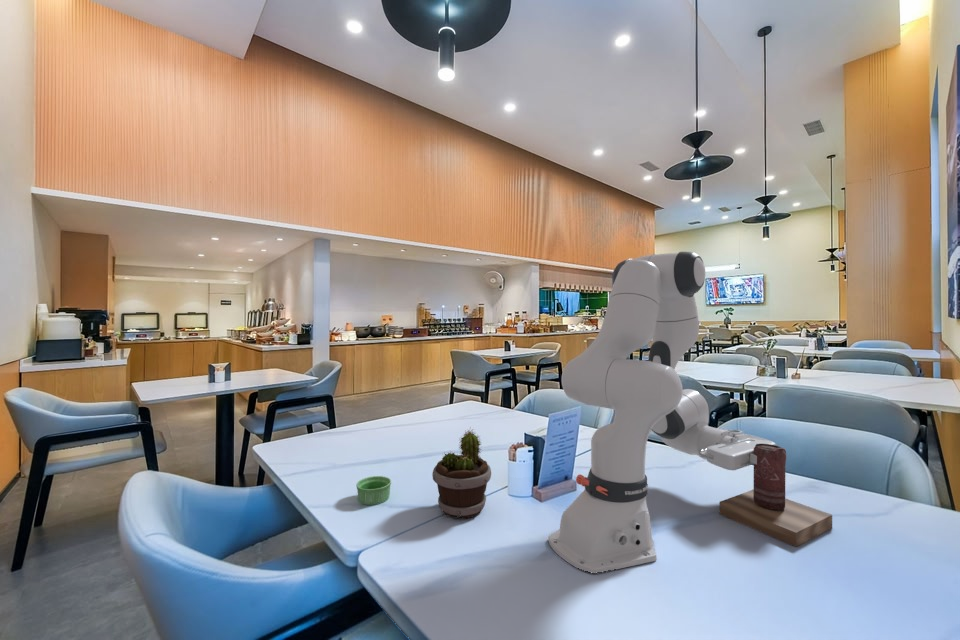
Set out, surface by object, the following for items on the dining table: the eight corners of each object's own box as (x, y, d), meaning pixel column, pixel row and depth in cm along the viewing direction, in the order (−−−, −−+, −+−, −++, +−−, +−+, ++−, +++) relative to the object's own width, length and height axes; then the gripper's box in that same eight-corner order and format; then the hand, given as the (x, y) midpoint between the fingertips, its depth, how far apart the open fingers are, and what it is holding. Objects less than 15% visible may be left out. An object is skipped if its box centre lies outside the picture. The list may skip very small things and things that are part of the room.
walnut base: (796, 547, 83) (796, 532, 83) (719, 514, 97) (719, 501, 97) (832, 527, 91) (832, 514, 91) (756, 499, 105) (756, 488, 105)
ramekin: (398, 498, 107) (397, 481, 107) (368, 510, 101) (368, 492, 101) (379, 488, 113) (379, 473, 113) (350, 499, 107) (349, 482, 107)
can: (792, 512, 92) (792, 451, 92) (761, 510, 93) (761, 449, 93) (778, 500, 98) (778, 443, 98) (749, 498, 99) (749, 442, 99)
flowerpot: (463, 532, 90) (463, 443, 90) (420, 510, 100) (419, 430, 100) (504, 509, 100) (504, 429, 100) (461, 491, 111) (461, 419, 111)
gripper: (694, 440, 101) (753, 457, 88) (740, 428, 110) (799, 442, 98) (694, 465, 101) (753, 485, 89) (741, 451, 110) (800, 468, 98)
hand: (778, 462), depth 93 cm, fingers closed
